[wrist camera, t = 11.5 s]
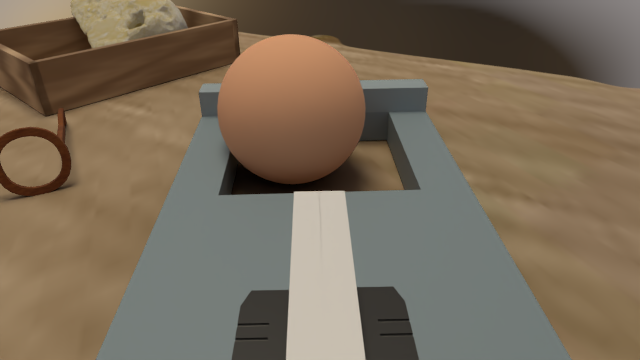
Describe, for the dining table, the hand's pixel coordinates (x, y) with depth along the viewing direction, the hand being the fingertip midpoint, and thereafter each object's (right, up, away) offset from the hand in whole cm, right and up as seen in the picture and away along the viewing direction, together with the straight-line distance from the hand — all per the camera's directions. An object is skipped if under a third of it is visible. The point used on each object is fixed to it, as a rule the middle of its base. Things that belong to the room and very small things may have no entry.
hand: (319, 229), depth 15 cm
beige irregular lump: (-24, +15, +44) cm, 52 cm away
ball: (-2, +6, +18) cm, 19 cm away
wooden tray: (-24, +15, +43) cm, 51 cm away
